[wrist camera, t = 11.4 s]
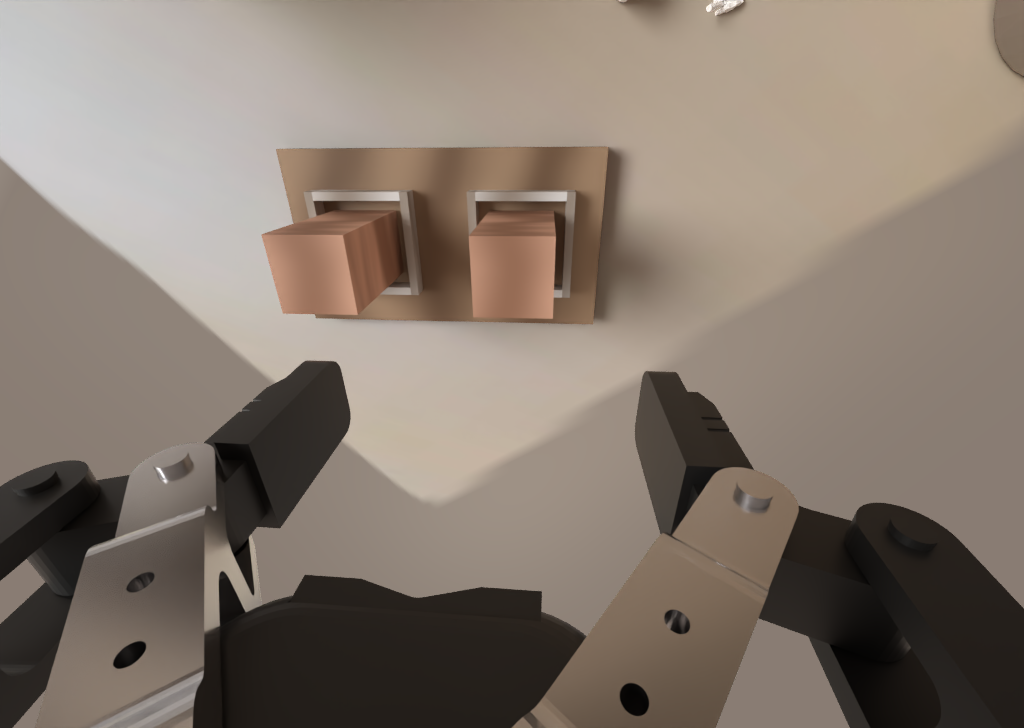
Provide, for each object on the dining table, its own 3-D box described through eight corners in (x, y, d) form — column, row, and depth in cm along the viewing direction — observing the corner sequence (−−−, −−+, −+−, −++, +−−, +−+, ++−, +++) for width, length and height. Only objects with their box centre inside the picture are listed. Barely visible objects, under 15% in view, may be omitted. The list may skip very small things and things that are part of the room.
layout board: (606, 146, 26) (633, 150, 18) (591, 317, 31) (607, 381, 23) (286, 148, 27) (174, 153, 19) (323, 312, 32) (247, 370, 24)
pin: (553, 210, 26) (555, 236, 19) (551, 274, 28) (552, 318, 21) (489, 210, 27) (468, 235, 20) (491, 273, 29) (473, 317, 21)
